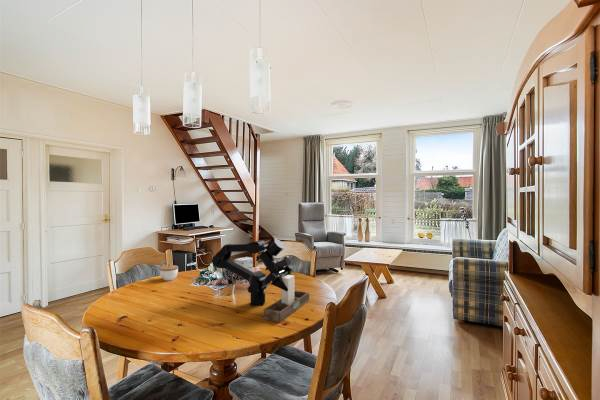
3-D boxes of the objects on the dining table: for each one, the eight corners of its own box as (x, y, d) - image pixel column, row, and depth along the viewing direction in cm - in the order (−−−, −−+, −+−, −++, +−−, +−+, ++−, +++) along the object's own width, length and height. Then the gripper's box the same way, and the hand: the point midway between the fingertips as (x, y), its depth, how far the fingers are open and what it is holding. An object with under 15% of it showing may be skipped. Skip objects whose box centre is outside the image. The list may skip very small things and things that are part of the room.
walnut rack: (263, 318, 128) (263, 309, 128) (294, 298, 153) (294, 290, 153) (280, 322, 124) (280, 312, 124) (309, 300, 150) (309, 292, 150)
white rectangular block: (281, 304, 137) (281, 277, 137) (287, 300, 142) (287, 274, 142) (288, 305, 135) (288, 278, 135) (294, 301, 141) (294, 275, 140)
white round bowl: (172, 282, 183) (171, 266, 183) (156, 281, 185) (155, 266, 185) (181, 277, 194) (181, 262, 194) (166, 276, 195) (166, 262, 195)
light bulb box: (246, 272, 207) (246, 256, 207) (253, 273, 203) (253, 257, 203) (234, 275, 199) (234, 258, 199) (240, 277, 194) (240, 260, 194)
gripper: (270, 254, 132) (292, 283, 127) (290, 248, 148) (310, 273, 144) (255, 270, 135) (276, 299, 131) (276, 262, 152) (295, 287, 147)
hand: (290, 288), depth 138 cm, fingers closed on white rectangular block, 6 cm apart
